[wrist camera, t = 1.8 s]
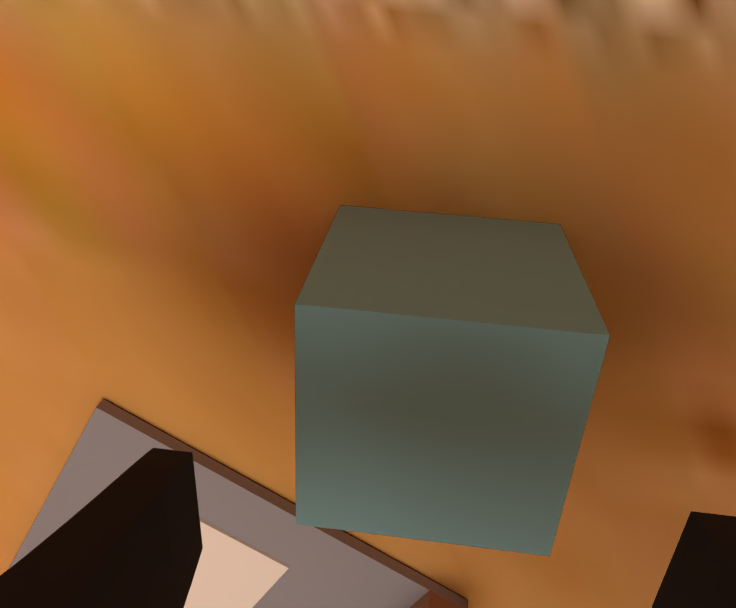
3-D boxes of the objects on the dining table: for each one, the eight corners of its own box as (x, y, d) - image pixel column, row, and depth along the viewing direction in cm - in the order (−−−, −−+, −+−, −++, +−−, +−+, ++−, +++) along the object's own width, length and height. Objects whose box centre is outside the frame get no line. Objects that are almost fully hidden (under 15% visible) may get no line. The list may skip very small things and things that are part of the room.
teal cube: (559, 223, 14) (609, 335, 10) (522, 401, 16) (549, 556, 12) (340, 204, 14) (294, 304, 10) (335, 380, 17) (295, 524, 12)
